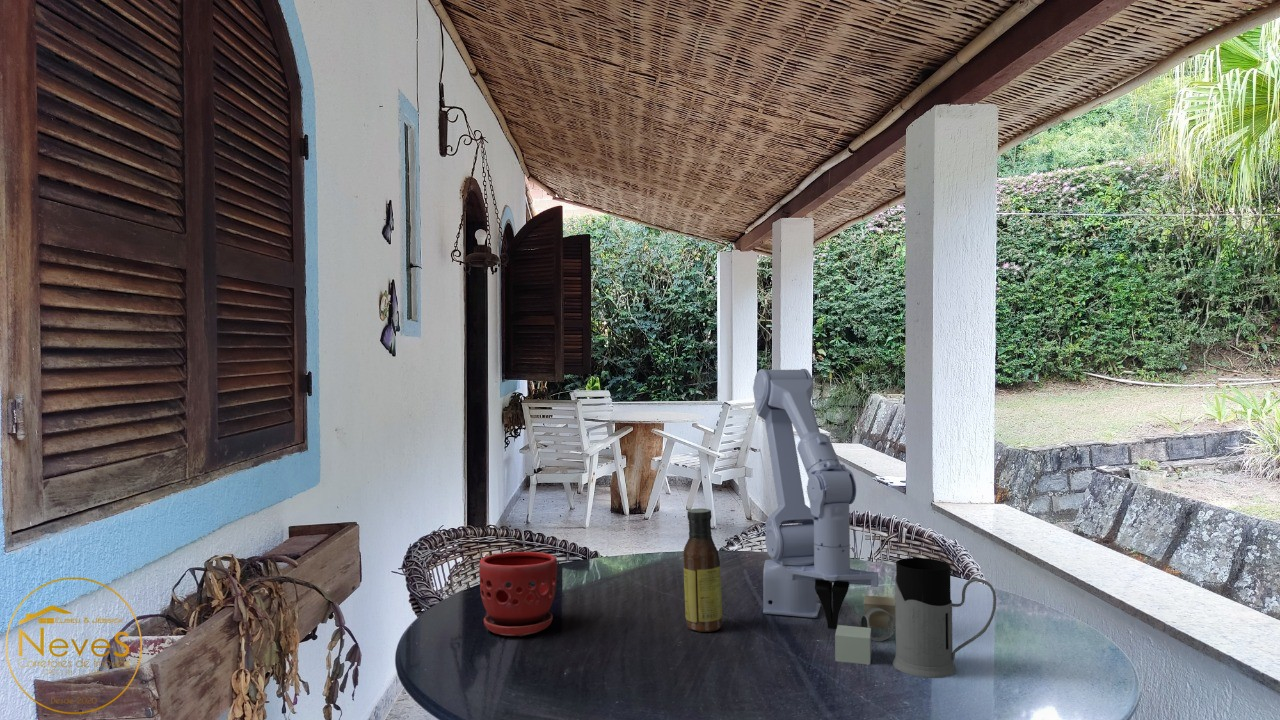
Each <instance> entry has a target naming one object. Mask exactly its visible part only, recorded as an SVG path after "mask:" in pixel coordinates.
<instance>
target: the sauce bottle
mask: <svg viewBox="0 0 1280 720" xmlns="http://www.w3.org/2000/svg"><path fill="white" fill-rule="evenodd" d="M686 513H687V519H688V528H689V529H688V539H687V542H686V543H685V546H684V549H683V552H682V554H683V555H682V556H683V582H684V583H683V584H684V587H683V588H684V611H685V612H684V613H685V614H684V615H685V617H684V618H685V619H686V625H687V628H688V629H689V630H691V631H695V632H699V633H701V632H702V633H710V632H714V631H715V632H716V631H718V630H719V629H721V628H722V625H723V601H722V600H723V599H722V577H721V561H720V556H719V551H718V549H717V547H716V544H715V542H714V539H713V536H712V523H711V519H712V510H711V509H709V508H703V507H702V508H691V509H688V510H687V512H686Z"/></svg>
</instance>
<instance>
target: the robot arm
mask: <svg viewBox="0 0 1280 720" xmlns="http://www.w3.org/2000/svg"><path fill="white" fill-rule="evenodd" d="M753 381H754V382H753V386H752V390H753V391H752V392H753V398H754V405H755V409H756V414H757V416H758V417H760V419H763V420H764V424H765V430H766V436H767V441H768V448H769V449H768V451H769V455H770V456H769V458H770V462H771V463H770V464H771V470H772V474H773V475H772V476H773V480H774V481H773V482H774V483H773V484H774V488H775V489H774V490H775V496H776V502H777V508H776V509H775V510H773V512H772V513H771V514H769V516H768V517H767V519H766V520H765V536H764V537H765V547H766V552H767V554H768V556H769V557H770V558H771V559H765V561H764V565H763V577H762V579H763V580H762V584H763V586H762V587H763V589H762V590H763V591H762V592H763V596H762V597H763V606H762V607H763V610H762V613H763V614H766V615H767V614H768V615H778V616H787V617H788V616H789V617H790V616H791V617H800V618H812V619H813V618H814V619H815V618H818V616H819V612H820V609H821V608H822V609H823V612H824V615H825V619H826V624H827V629H830V630H836V629H837V625H838V622H839V621H838V620H839V615H840V612H841V611H840V610H841V608H842V605H843V603H844V600H845V598H846V596H847V594H848V592H849V588H850V585H859V586H870V587H873V588H878V587H879V572H878V571H867V570H862V569H855V568H851V555H850V553H851V552H850V550H851V549H850V547H851V545H850V544H851V543H850V540H851V539H850V537H851V536H850V535H851V534H850V530H851V529H850V525H851V524H850V505H852V504H854V502H855V499H856V497H857V483H856V479H855V477H854V476H855V475H854V474H853V472H852V470H850V469H848V468H847V467H846V466H845V464H841V463H840V461H839V458H838V456H837V454H836V451H835V448H834V447H833V444H832V441H831V439H830V437H829V436H828V435H827V434H825V433H822V432H820V429H819V425H818V421H817V418H816V415H815V411H814V408H813V406H812V397H813V393H814V392H813V391H814V381H813V377H812V374H811V373H810V371H809V370H808V369H806V368H800V369H766V368H764V369H763V368H761V369H759V370H758V371H757V372H756V374H755V376H754V380H753ZM794 430H795V431H796V433H797V436H798V437H799V439H800V440H799V442H798V444H797V446H796V441H795V440H796V439H795V434H794ZM798 454H799V456H800V459H801V463H802V464H803V467H804V469H805V472H806V475H807V477H808V478H807V479H808V480H807V485H806V493H807V496H808V498H807V499H808V500H809V505H810V506H808V505H807V504H806V502H805V496H804V495H805V494H804V489H803V483H802V476H801V471H800V470H801V469H800V465H799V459H798V458H799V457H798ZM817 597H818V598H817ZM817 599H819V601H820V603H819V602H817ZM821 606H822V607H821Z"/></svg>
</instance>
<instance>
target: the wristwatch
mask: <svg viewBox="0 0 1280 720" xmlns="http://www.w3.org/2000/svg"><path fill="white" fill-rule="evenodd" d="M876 611H881V612H885V613H887V614H888V615H889V617H890V621H889V622H888V625H889V628H888V631H887V632H886V633H884V634H883V635H881V636H878V637H872V636H871V641H874V642H883V641H886V640H888V639H890V637H892V636H893V635H894V632H895V630H896V619H895V620H894V617H893V616H892V615H891V614H890V613H888V612H887V611H885V610H883V609H880V608H871V609H869V610H868V611H867V613H865V614H864V613H863V615H862V617H861V620H860V627H866V628H871V627H870V623H869V618H870V615H871V614H872V613H874V612H876Z"/></svg>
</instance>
